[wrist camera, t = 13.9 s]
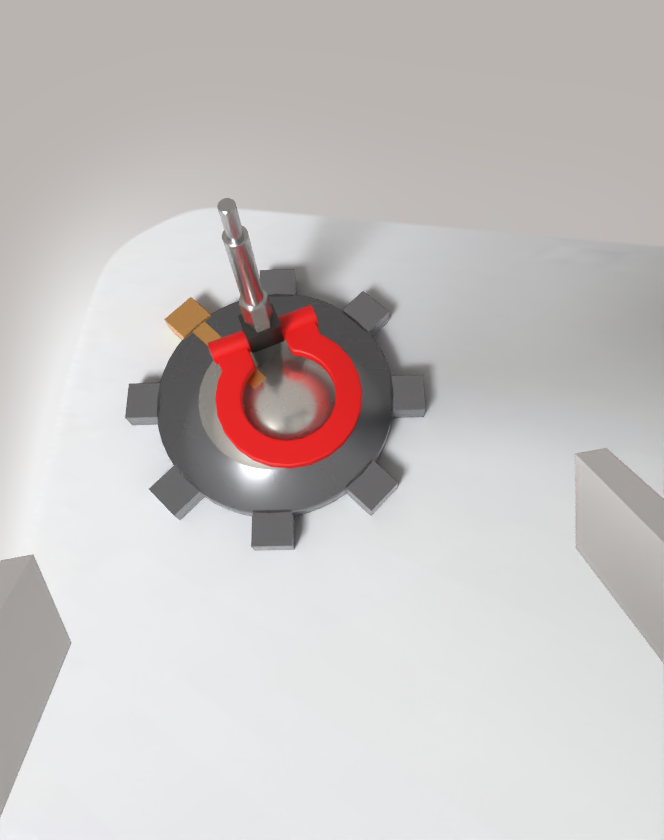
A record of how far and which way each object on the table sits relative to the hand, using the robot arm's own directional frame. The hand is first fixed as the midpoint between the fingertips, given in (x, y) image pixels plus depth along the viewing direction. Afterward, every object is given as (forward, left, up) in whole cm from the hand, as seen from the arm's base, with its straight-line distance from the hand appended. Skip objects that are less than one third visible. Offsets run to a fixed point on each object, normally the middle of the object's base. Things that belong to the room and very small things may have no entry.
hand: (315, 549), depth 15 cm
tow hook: (+3, -12, -19) cm, 23 cm away
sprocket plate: (+4, -12, -20) cm, 23 cm away
